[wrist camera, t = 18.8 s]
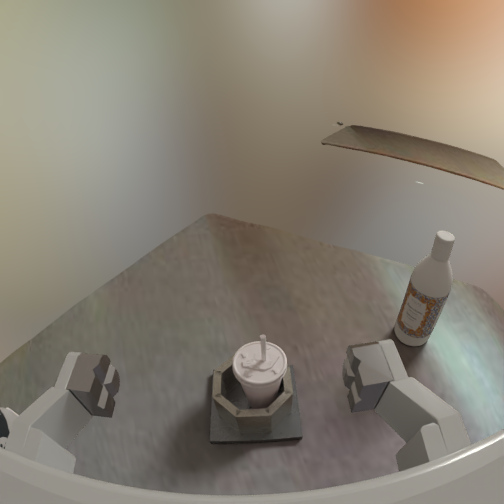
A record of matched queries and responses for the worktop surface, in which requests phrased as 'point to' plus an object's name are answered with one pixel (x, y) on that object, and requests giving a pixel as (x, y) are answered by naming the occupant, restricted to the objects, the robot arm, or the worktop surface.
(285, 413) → the octagonal cup holder
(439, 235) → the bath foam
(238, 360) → the smoothie
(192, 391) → the worktop surface
